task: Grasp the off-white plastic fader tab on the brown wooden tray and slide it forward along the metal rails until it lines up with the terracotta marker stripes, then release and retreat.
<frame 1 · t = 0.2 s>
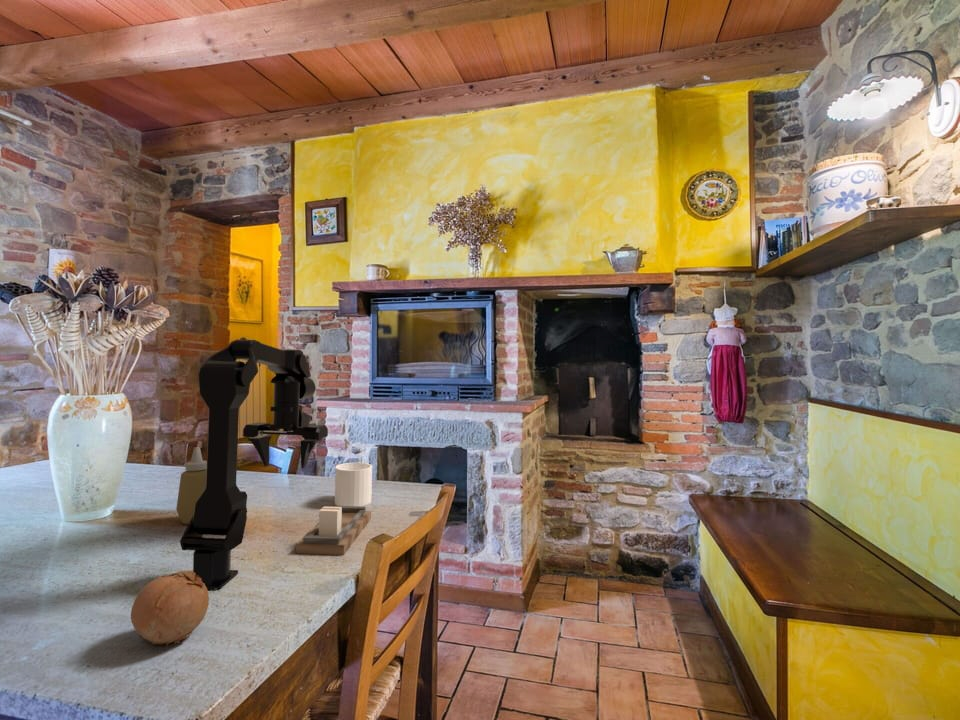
hand: (285, 467, 113), 14 cm above the table, fingers open, 9 cm apart
onion: (170, 638, 69), on the table
squeeze bottle: (195, 521, 116), on the table
fader: (330, 520, 105), point 5 cm above the table, slide at -5.0 cm
brown wooden tray: (337, 534, 110), on the table
mug: (351, 502, 135), on the table
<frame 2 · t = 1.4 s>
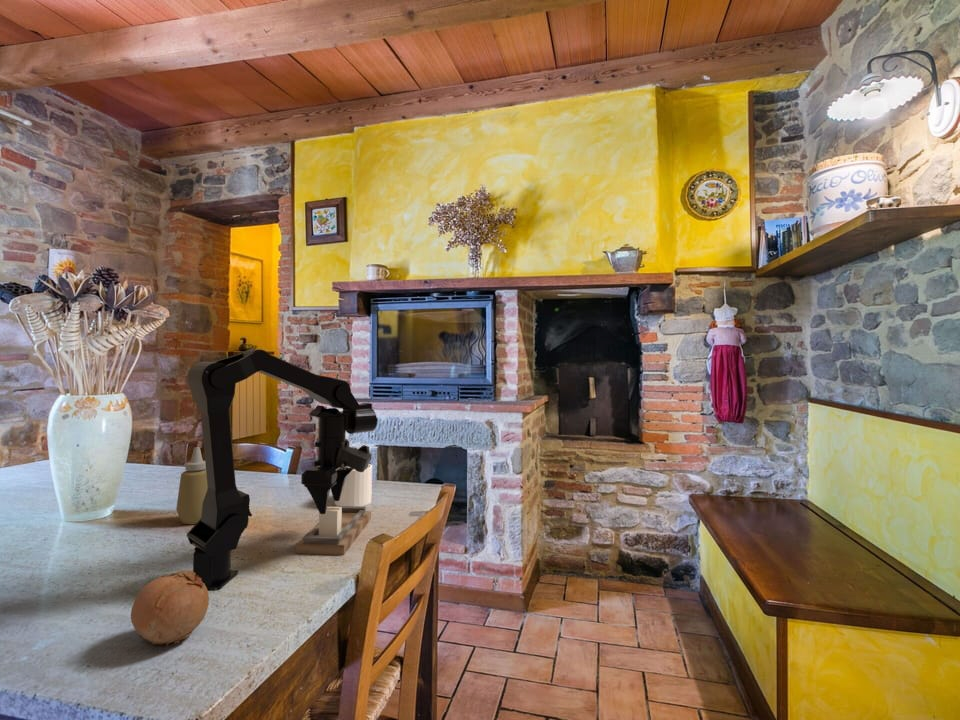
hand: (330, 507, 104), 8 cm above the table, fingers open, 9 cm apart
nothing on the table moved.
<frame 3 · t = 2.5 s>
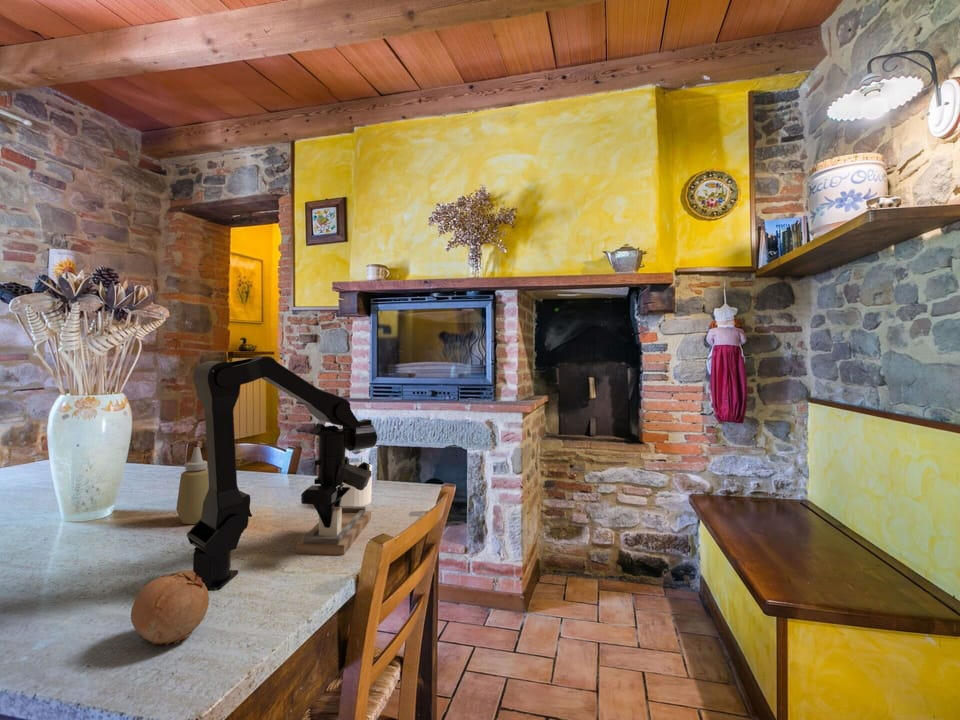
hand: (330, 524, 104), 4 cm above the table, fingers closed on fader, 3 cm apart
fader: (330, 520, 104), point 5 cm above the table, slide at -5.0 cm, touching gripper
everything else where it was.
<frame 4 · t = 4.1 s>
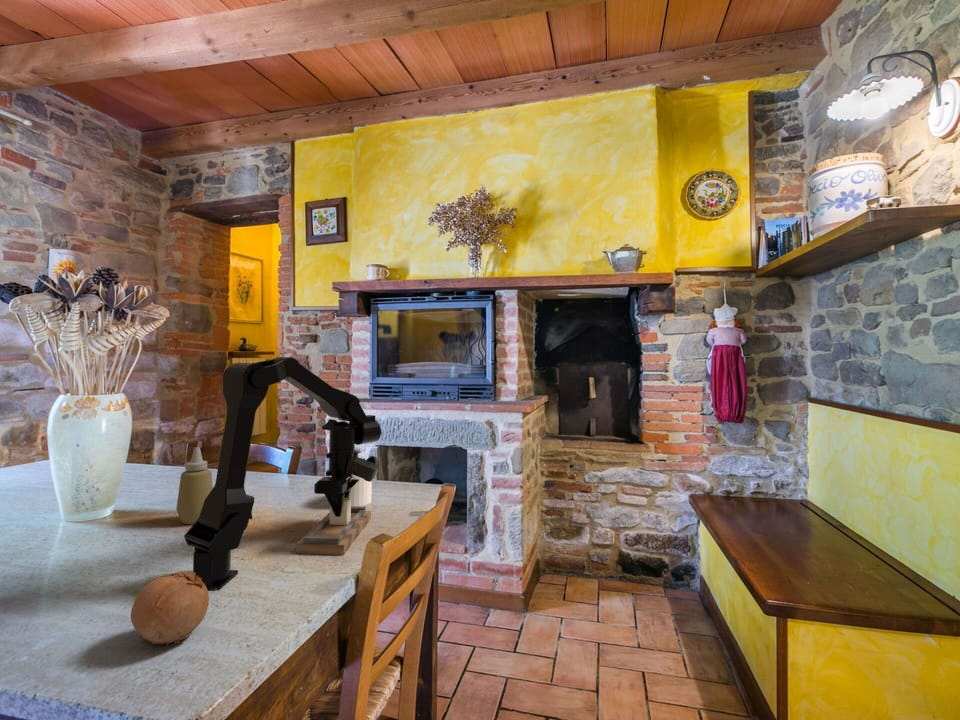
hand: (340, 514, 112), 4 cm above the table, fingers closed on fader, 3 cm apart
fader: (340, 510, 112), point 5 cm above the table, slide at 2.0 cm, touching gripper
everything else where it was.
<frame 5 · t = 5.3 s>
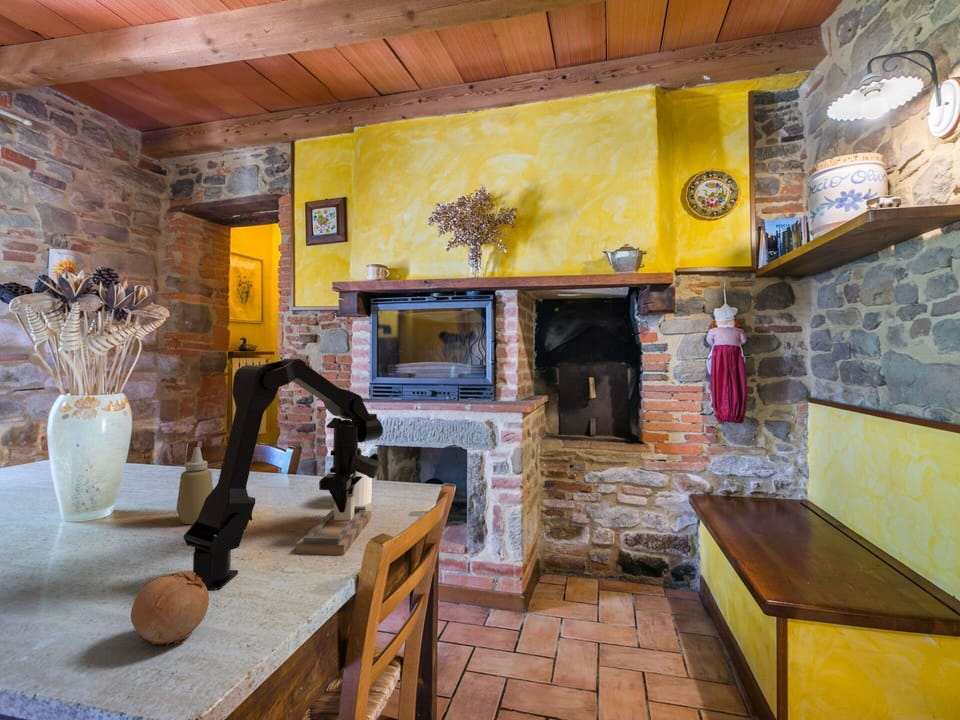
hand: (344, 510, 114), 4 cm above the table, fingers closed on fader, 3 cm apart
fader: (344, 506, 114), point 5 cm above the table, slide at 5.0 cm, touching gripper
everything else where it was.
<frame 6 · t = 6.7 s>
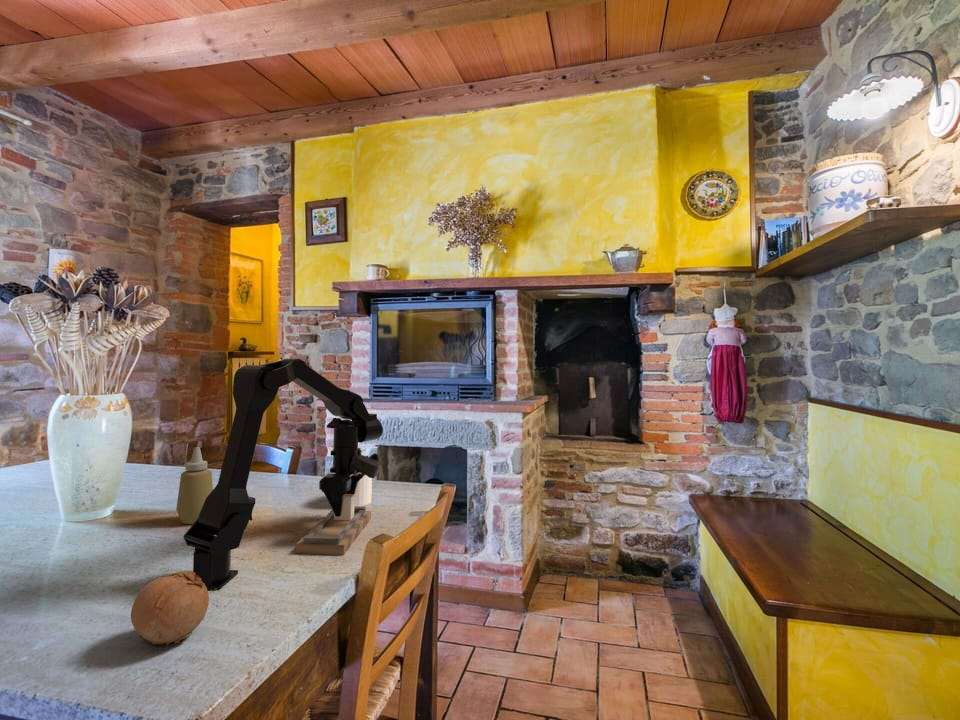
hand: (344, 510, 114), 4 cm above the table, fingers open, 9 cm apart
fader: (344, 506, 114), point 5 cm above the table, slide at 5.0 cm
everything else where it was.
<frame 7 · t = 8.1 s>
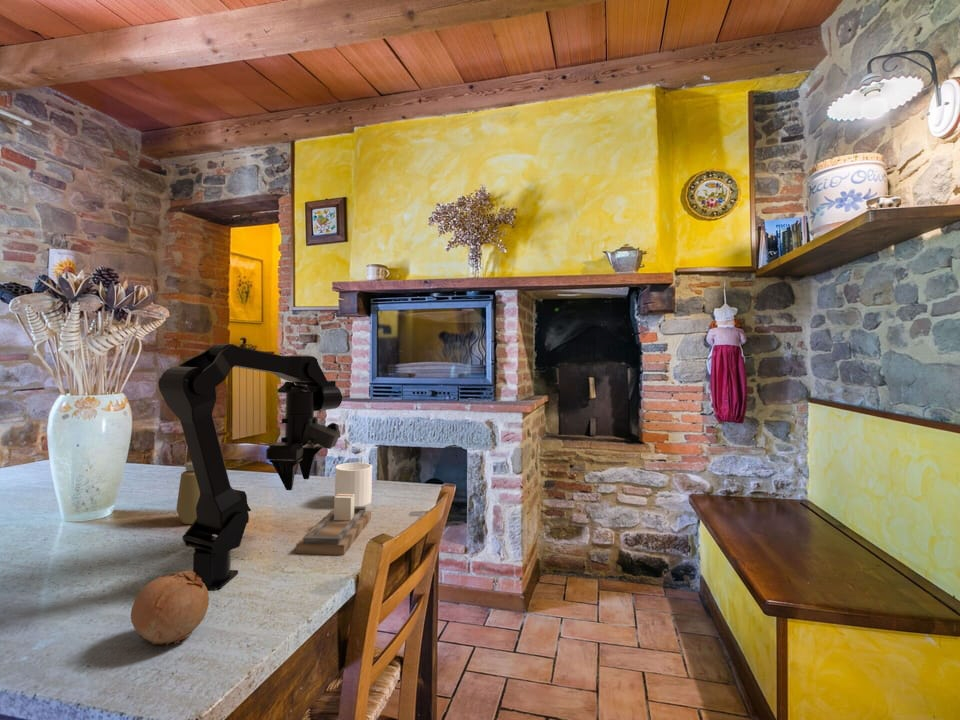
hand: (298, 484, 104), 13 cm above the table, fingers open, 9 cm apart
nothing on the table moved.
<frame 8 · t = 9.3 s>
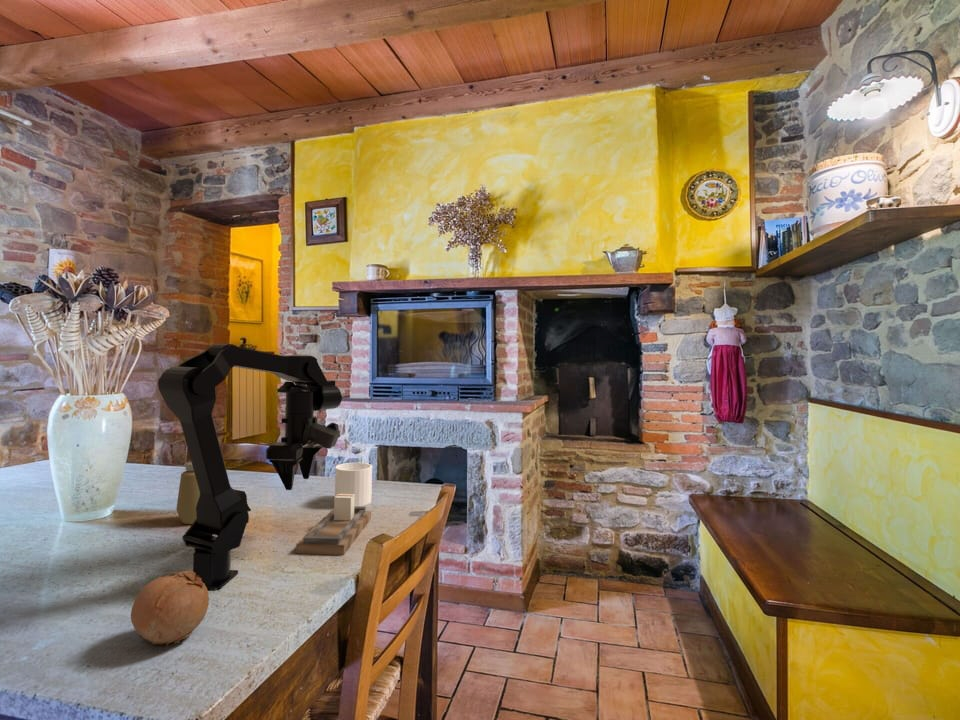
hand: (297, 484, 104), 13 cm above the table, fingers open, 9 cm apart
nothing on the table moved.
at the end: fader slide at 5.0 cm; the gripper is holding nothing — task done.
